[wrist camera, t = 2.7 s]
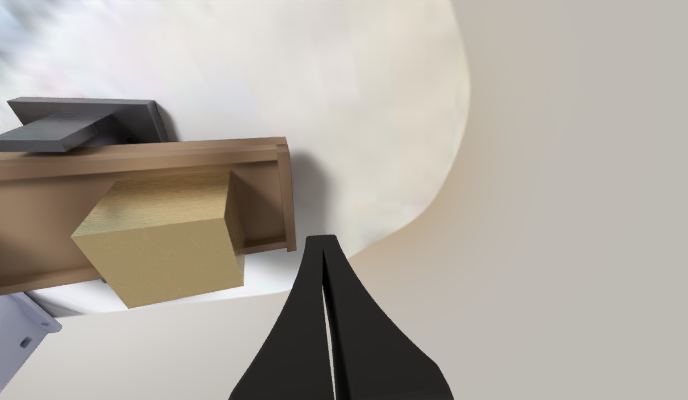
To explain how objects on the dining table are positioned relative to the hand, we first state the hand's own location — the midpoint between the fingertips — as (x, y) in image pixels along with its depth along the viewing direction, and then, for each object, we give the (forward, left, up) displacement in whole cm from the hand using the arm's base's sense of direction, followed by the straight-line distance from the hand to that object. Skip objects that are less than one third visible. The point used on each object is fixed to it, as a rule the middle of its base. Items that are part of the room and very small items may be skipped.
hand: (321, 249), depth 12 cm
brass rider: (0, +7, -4) cm, 8 cm away
